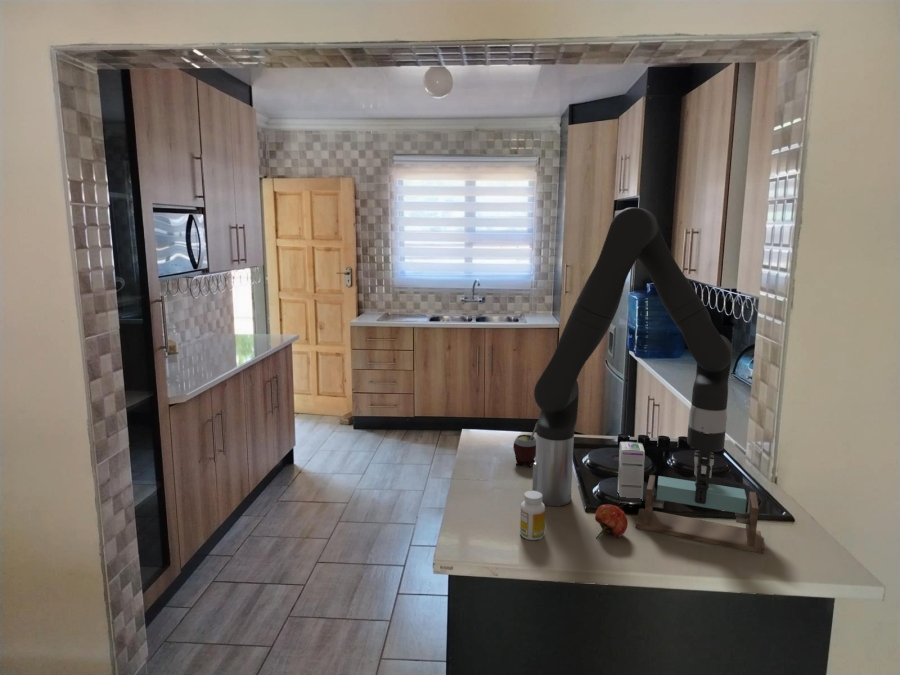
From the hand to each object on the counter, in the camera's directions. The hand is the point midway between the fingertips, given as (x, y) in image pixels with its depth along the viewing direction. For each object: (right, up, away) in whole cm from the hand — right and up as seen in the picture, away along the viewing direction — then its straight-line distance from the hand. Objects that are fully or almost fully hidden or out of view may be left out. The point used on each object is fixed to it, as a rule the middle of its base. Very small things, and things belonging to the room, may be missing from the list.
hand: (700, 497), depth 128 cm
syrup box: (-11, -6, +17) cm, 21 cm away
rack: (0, -8, +2) cm, 8 cm away
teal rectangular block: (0, -1, 0) cm, 1 cm away
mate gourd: (-34, -1, +38) cm, 51 cm away
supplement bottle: (-38, -9, 0) cm, 39 cm away
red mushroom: (-20, -9, 0) cm, 22 cm away
